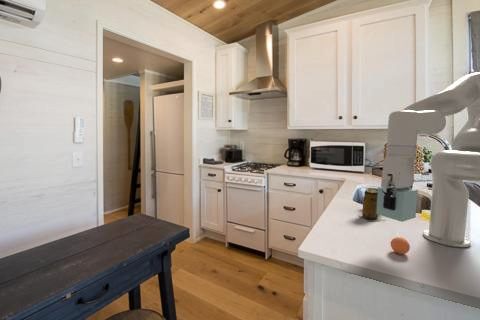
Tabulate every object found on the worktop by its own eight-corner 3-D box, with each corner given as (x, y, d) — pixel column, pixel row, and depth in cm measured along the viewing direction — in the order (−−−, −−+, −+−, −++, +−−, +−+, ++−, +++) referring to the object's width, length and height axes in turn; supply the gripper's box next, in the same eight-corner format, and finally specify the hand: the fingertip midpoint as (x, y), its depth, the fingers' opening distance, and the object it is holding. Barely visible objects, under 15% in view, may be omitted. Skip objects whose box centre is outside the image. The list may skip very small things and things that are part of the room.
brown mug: (370, 214, 109) (372, 189, 108) (385, 220, 101) (387, 193, 100) (357, 215, 108) (358, 190, 106) (371, 222, 99) (372, 194, 98)
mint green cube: (389, 210, 79) (391, 185, 78) (415, 217, 72) (418, 189, 71) (376, 214, 75) (378, 187, 74) (402, 221, 69) (404, 192, 68)
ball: (416, 250, 71) (402, 254, 75) (407, 234, 73) (393, 238, 77) (406, 253, 69) (392, 256, 72) (397, 236, 71) (384, 240, 75)
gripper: (402, 150, 79) (399, 200, 81) (371, 151, 71) (368, 207, 72) (429, 151, 72) (424, 206, 74) (398, 153, 64) (393, 215, 66)
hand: (396, 206), depth 73 cm, fingers closed on mint green cube, 7 cm apart
